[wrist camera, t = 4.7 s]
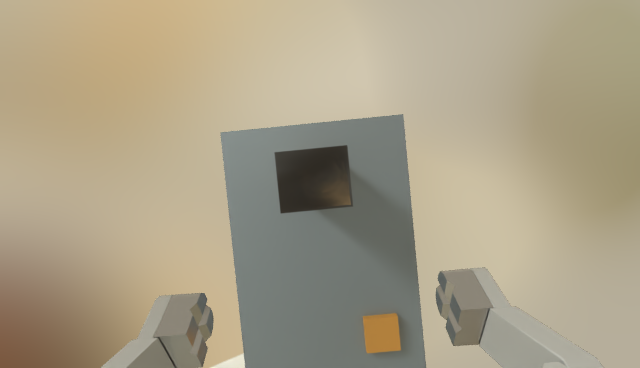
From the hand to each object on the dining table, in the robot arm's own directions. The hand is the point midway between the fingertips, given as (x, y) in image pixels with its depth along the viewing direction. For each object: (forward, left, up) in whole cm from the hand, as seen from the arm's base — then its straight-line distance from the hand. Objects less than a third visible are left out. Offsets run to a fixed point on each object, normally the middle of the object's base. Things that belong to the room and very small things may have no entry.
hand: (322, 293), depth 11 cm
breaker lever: (0, +11, +3) cm, 11 cm away
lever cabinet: (0, +17, -24) cm, 29 cm away
